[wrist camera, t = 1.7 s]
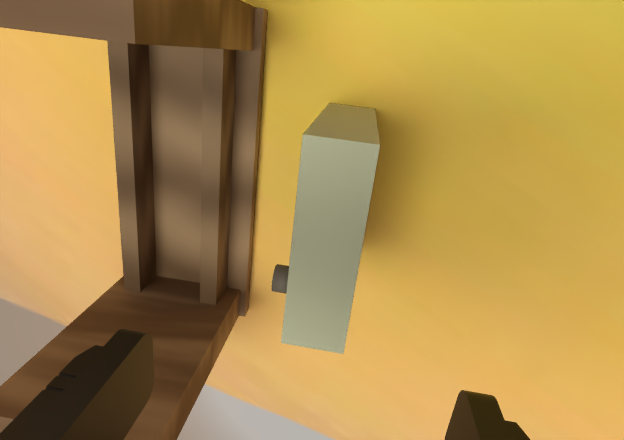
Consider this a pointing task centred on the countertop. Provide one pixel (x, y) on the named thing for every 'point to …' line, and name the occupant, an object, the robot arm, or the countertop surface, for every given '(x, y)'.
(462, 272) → the countertop surface
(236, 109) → the brown wooden stand
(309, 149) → the door panel
